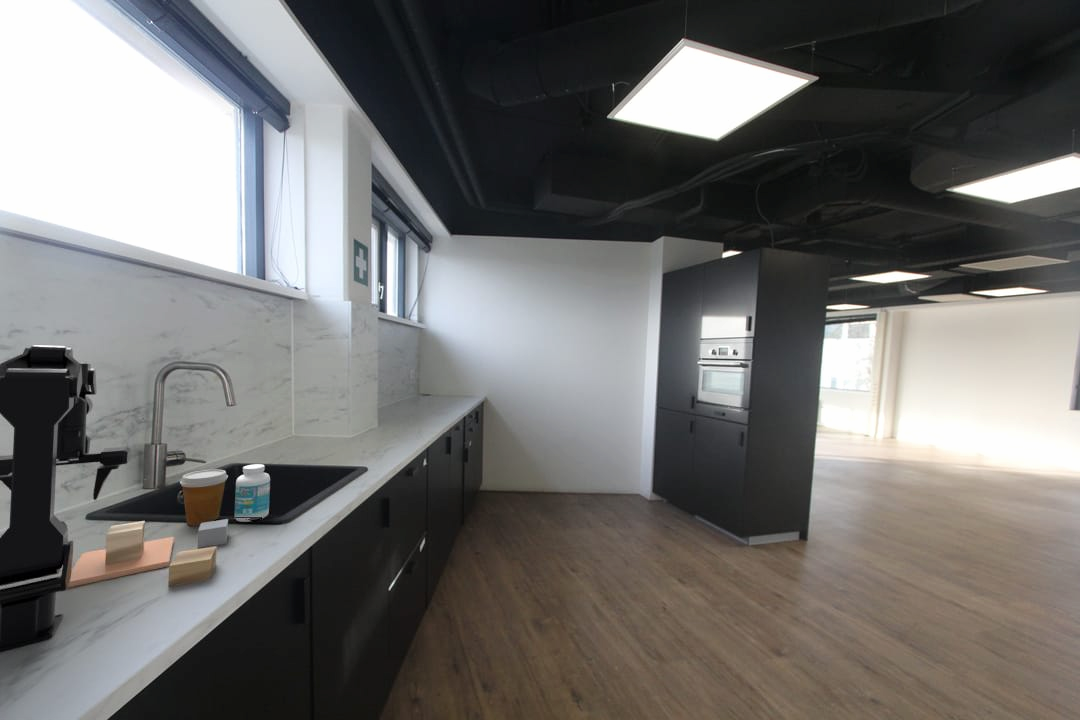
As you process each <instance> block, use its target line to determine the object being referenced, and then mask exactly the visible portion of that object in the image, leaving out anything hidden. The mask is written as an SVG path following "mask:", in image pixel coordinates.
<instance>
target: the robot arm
mask: <svg viewBox="0 0 1080 720" xmlns="http://www.w3.org/2000/svg"><path fill="white" fill-rule="evenodd" d="M96 375H97V373H96V368H92V366H91V364H90V363H89V362H79V361H78V360H76V359H75V357H74V353H73V348H72V347H67V346H66V345H40V344H37V345H35V344H33V345H31V346H26V347H24V350H23V353H21V354H19V355H17V356H14V357H12V358H10V359H7V360H5V361H3V362H1V363H0V415H1V416H2V417H3V418H4V419H5V420H6V422H8V423H9V425H11V426H12V427H13V445H12V448H13V449H12V454H9V455H8V454H7V455H0V482H2V483H3V484H4V485H5V486H6V487H7V489H9V490H10V509H9V513H10V514H9V527H8V528H7V529H5V532H4V533H3V534H2V535H1V536H0V587H3V586H7V585H11V584H13V586H10V587H6V588H1V589H0V652H1V651H6V650H10V649H13V648H17V647H18V648H19V647H22V646H26V645H29V644H33V643H36V642H40V641H44V640H48V639H50V638H52V637H53V635H54V634H55V632H56V631H57V628H58V627H59V626H60V623H61V622H62V620H63V618H64V614H63V613H59V614H58V613H57V614H56V597H57V596H56V594H57V593H58V592H64V591H67V589H68V588H69V587H68V584H69V582H70V579H71V571H72V569H73V558H74V557H73V556H74V541H73V540H69V528H68V524H66V522H65V521H63V520H60V519H59V517H57V516H55V500H56V499H55V497H56V475H57V466H65V465H66V466H67V465H68V466H69V465H78V464H88V463H90V464H91V463H99V464H100V465H99V466H98V467H97V469H96V475H95V480H94V486H93V492H92V494H93V496H92V499H93V500H94V501H96V500H97V499H98V497H99V496H100V493H101V491H102V489H103V487H104V484H105V483H106V481H107V478H108V477H109V475H110V474H111V472H112V470H117V469H119V468H120V467H121V465H126V464H128V463H129V462H130V461H131V458H132V449H131V448H130V447H129V446H119V447H116V446H115V447H106V448H104V449H103V450H102V451H100V452H93V453H90V447H91V438H90V437H89V436H88V435H87V415H88V414H89V413H90V412H91V411H92V410H93V406H94V405H93V401H92V399H91V398H90V397H89V396H90V395H91V396H92V395H94V396H95V395H97V377H96ZM88 395H89V396H88ZM60 571H61V576H55V577H50V578H47V579H42V578H45V577H49V576H54V575H58V574H60ZM39 578H41V579H42V580H38V581H33V582H28V583H24V584H19V585H14V584H16V583H17V584H18V583H21V582H25V581H31V580H35V579H39ZM67 587H68V588H67Z"/></svg>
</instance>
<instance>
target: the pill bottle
mask: <svg viewBox="0 0 1080 720" xmlns="http://www.w3.org/2000/svg"><path fill="white" fill-rule="evenodd" d="M265 466H266V465H264V464H261V463H253V464H248V465H245V466H242V472H243V474H241V475H240V476H238V477H237V479H236V481H235V493H234V494H235V498H234V520H235V519H236V522H240V523H248V522H249V523H250V522H251V521H250V520H248V519H250V518H235V517H262V519H264V518H266V517H267V516H268V515H269V510H270V494H271V493H270V491H271V477H270V474H269V473H267V472H264V471H265V470H266V469H265V468H266V467H265ZM246 519H247V520H246Z"/></svg>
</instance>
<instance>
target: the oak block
mask: <svg viewBox="0 0 1080 720" xmlns="http://www.w3.org/2000/svg"><path fill="white" fill-rule="evenodd" d="M217 547H218V545H214V546H208V547H203V548H196V549H189V550H185V551H183V550H182V551H178V552H177V554H175V556H174V558H173V560H172V561H170V563H169V566H168V587H173V586H179V585H185V584H190V583H195V582H196V583H197V582H201V581H207V580H210V579H211V577H212V575H213V573H214V571H215V568H216V566H217Z"/></svg>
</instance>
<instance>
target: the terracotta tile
mask: <svg viewBox="0 0 1080 720" xmlns="http://www.w3.org/2000/svg"><path fill="white" fill-rule="evenodd" d="M174 541H175V537H174V536H169V537H165V538H159V539H153V540H149V541H148V540H147V541H144V550H143V553H142V556H141V558H140V559H135V560H130V561H125V562H120V563H115V564H110V565H105V558H106V548H104V549H103V548H102V549H98V550H93V551H87V552H86V551H85V552H82V554H81V556H80V557H79V558H78V560H77V562H76V563H75V565H74V566H73V567H72V570H71V579H70V582H69V584H68V587H67V589H68V588H72V587H76V586H81V585H86V584H91V583H95V582H101V581H104V580H109V579H115V578H119V577H125V576H128V575H133V574H134V575H135V574H138V573H144V572H147V571H153V570H156V569H161V568H162V569H163V568H166V567H169V565H170V563H171V557H172V553H173V552H172V551H173V547H174Z"/></svg>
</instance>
